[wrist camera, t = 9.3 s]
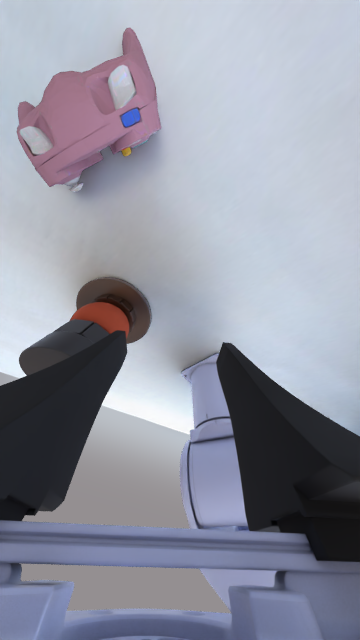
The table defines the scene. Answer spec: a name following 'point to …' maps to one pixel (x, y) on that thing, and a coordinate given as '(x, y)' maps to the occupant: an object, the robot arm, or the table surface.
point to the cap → (61, 345)
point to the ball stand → (119, 303)
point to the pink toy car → (90, 115)
